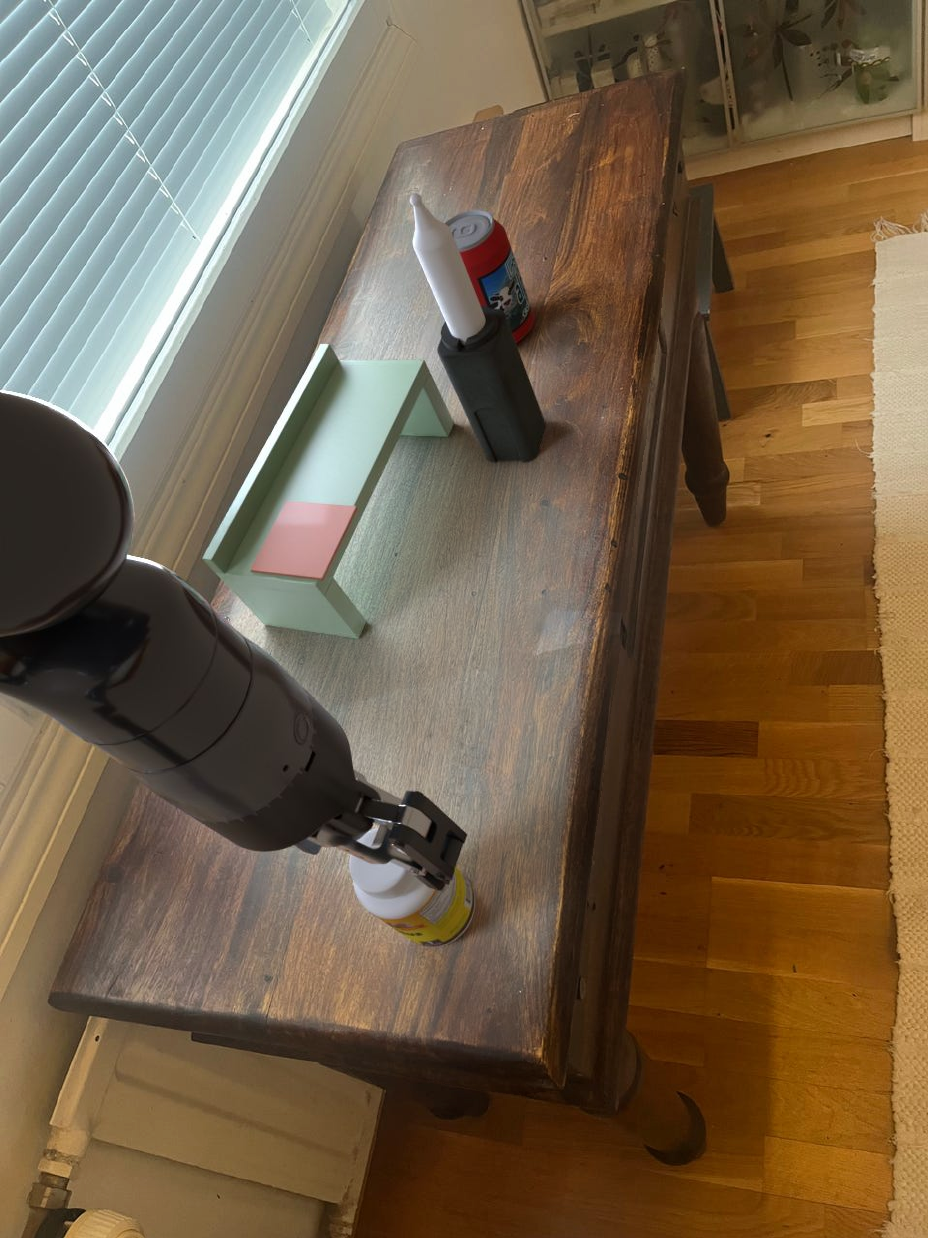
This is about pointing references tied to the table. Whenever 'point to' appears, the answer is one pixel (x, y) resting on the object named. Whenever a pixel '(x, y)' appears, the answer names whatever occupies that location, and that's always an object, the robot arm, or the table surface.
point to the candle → (478, 350)
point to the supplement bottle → (413, 900)
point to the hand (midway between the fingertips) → (379, 855)
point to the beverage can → (492, 267)
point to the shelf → (320, 488)
